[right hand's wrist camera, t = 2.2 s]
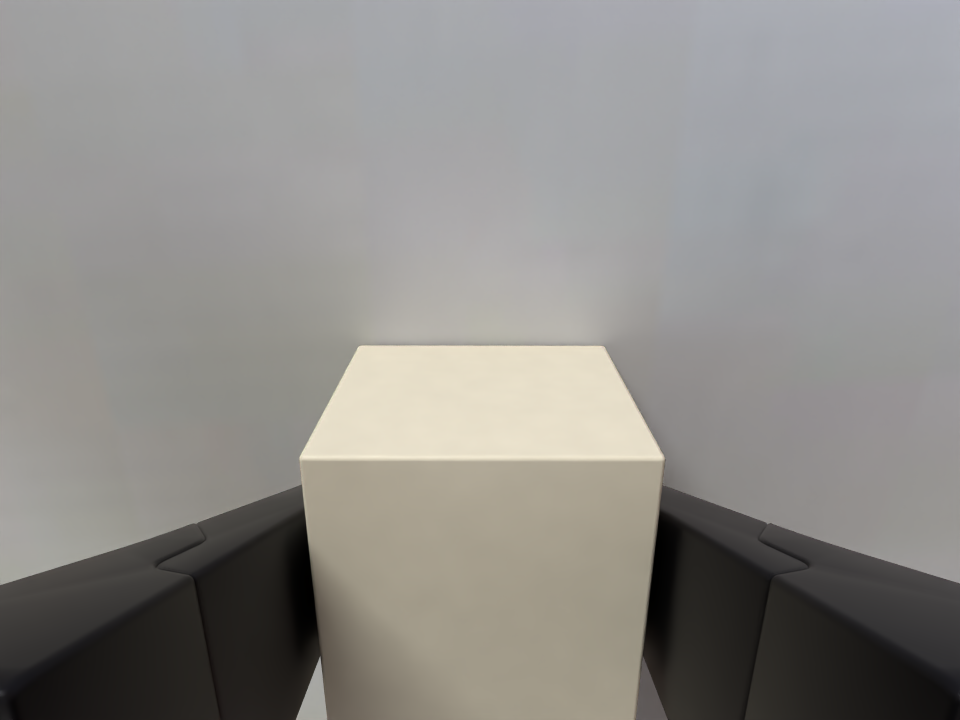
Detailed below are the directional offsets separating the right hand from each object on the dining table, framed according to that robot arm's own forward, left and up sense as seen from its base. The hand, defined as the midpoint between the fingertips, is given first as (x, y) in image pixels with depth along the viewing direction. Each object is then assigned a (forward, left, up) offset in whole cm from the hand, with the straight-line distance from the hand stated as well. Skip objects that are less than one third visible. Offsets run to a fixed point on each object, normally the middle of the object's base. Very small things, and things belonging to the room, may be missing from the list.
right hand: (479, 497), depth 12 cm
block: (0, 0, -1) cm, 1 cm away
